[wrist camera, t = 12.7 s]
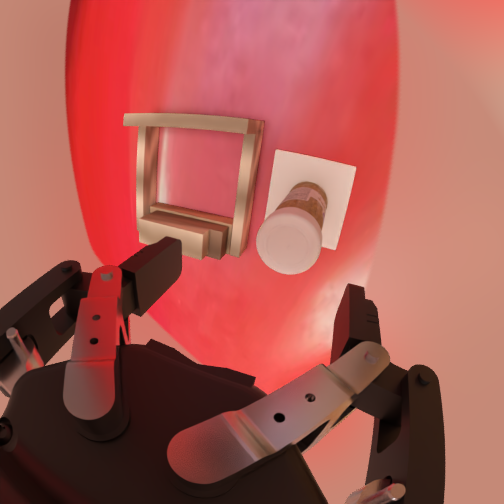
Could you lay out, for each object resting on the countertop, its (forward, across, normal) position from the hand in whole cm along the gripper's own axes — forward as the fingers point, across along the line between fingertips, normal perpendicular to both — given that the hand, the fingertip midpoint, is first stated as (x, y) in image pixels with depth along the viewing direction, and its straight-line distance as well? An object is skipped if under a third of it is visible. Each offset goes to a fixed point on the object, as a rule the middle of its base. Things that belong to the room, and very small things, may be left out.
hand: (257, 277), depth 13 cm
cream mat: (+21, 0, +1) cm, 21 cm away
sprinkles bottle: (+20, 0, +1) cm, 20 cm away
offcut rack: (+21, +14, +2) cm, 25 cm away
